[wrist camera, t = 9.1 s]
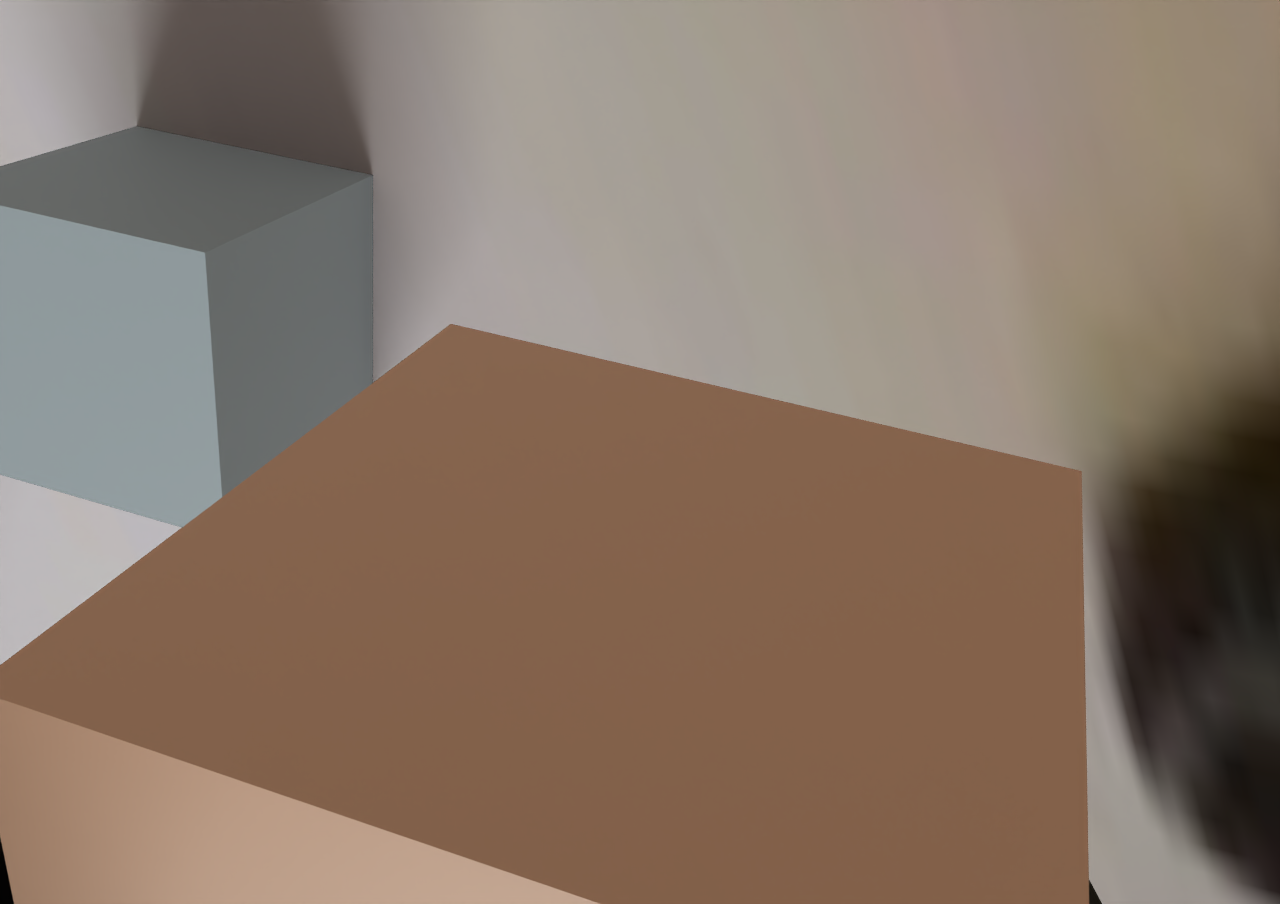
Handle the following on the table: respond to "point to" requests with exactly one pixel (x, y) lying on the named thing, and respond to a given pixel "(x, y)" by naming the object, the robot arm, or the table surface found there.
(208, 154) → the slate grey cube
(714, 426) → the terracotta cube
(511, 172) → the table surface
